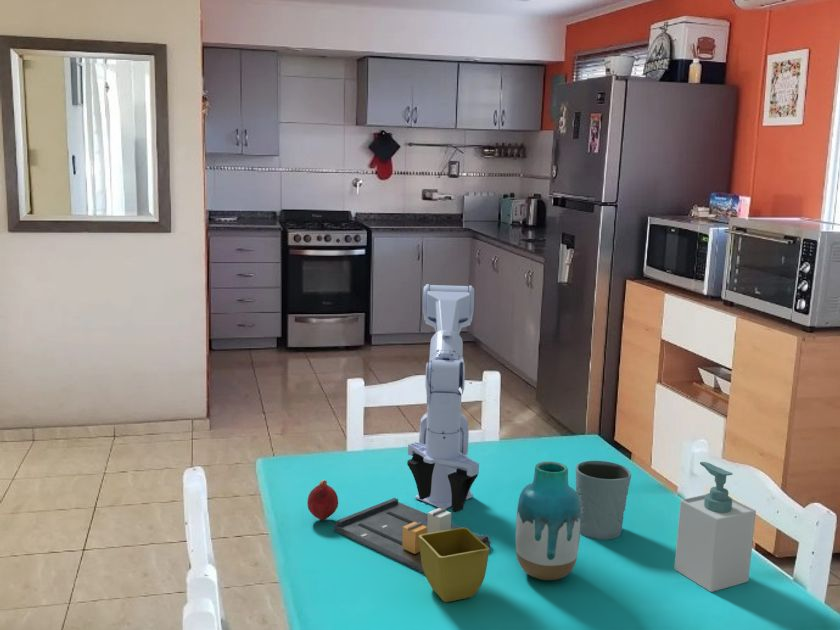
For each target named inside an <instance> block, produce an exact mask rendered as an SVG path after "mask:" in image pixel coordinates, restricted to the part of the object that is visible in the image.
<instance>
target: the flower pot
mask: <svg viewBox="0 0 840 630" xmlns="http://www.w3.org/2000/svg"><path fill="white" fill-rule="evenodd" d="M473 533H474V532H472V531H471V530H470V529H469V528H467V527H466V526H463V527H460V528H456V529H450V530H445V531H439V532H433V533H427V534H421V535H419V544H420V553H421V562H422V567H423V570H424V573H425V574H424V573H423V574H424V575H425V578H426V579H427V583H428V584H429V585H430V587H431V589H432V590H433V592H434V593H436V594H437V596H438V597H439V598H440V599H441V600H442V601H443V602H444V603H450V602H454V601H458V600H463V599H469V598H472V597H474V595H475V594H477V592H478V591H479V590H480V588H481V586H482V584H483V582H484V580H485V576H486V571H487V566H488V562H489V561H488V560H489V554H490V547H488V546H487V545H486V544H484V543H483V542H482V541H481V540H480V539H478V538H477V537H476V536H475V535H474V534H473Z"/></svg>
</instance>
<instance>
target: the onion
mask: <svg viewBox="0 0 840 630" xmlns="http://www.w3.org/2000/svg"><path fill="white" fill-rule="evenodd" d="M338 507H339V497H338V494H337V492H336V490H335V489H334V488H333V487H331V486H330V485H329V484H328V481H327V480H326V479H322V480H321V481H320V482H319V484H318V485H316V486H315V487H314V488H312V490H310V493H309V494H308V497H307V509H308V511H309V512H310V513H311V515H312V516H314V517H315V518H316V519H318V520H320V521H326V520H327V519H328V518H330V517H331V516H333V514H335V512H336V510H337V509H338Z"/></svg>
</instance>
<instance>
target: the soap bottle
mask: <svg viewBox="0 0 840 630" xmlns="http://www.w3.org/2000/svg"><path fill="white" fill-rule="evenodd" d="M699 464H700V465H701V466H702V467H703V468H705V470H706V471H707V472H708V473H709V474H710V475H711V476H712V477H713V476H714V482H715V486H712V487H711V488H710V490H709V492H708V493H706V494H703V495H698V496H692V497H688V498H683V499H680V502H679V503H680V504H679V516H678V523H677V524H678V526H677V537H676V547H675V548H676V549H675V557H674V558H675V560H674V567H673V568H674V571H676V572H678V573H680V574H682V576H684V577H686V578H687V579H689V580H690V581H692V582H694V583H695V584H696V585H697V584H698V585H699V586H700V587H702V588H703V589H705V590H707V591H709V592H710V593H713V592H717V591H720V590H723V589H726V588H730V587H734V586H737V585H741V584H744V583H748V582H749V578H750V569H751V560H752V550H753V543H754V535H755V534H754V533H755V524H756V515H757V514H756V513H757V510H755V509H753V508H751V507H750V506H747V505H745V504H743V503H741V502H739V501H737V500H735V499H733V498H731V496H730V495H729V493H730V492H729V490H728V489H727V488H725V487H724V485H725V484H726V483H727V476H732V475H733V472H731V471H727V470H726V469H723V468H721V467H718V466H716V465H715V464H712V463H711V462H706V461H700V462H699Z"/></svg>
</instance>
